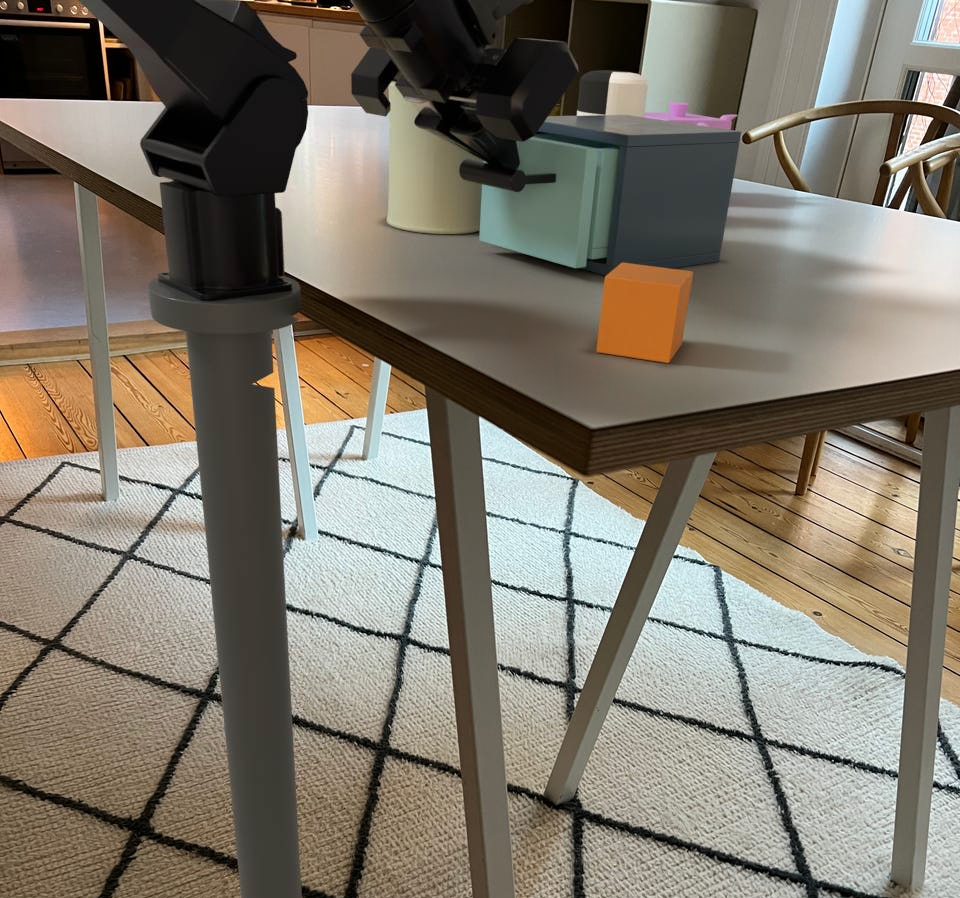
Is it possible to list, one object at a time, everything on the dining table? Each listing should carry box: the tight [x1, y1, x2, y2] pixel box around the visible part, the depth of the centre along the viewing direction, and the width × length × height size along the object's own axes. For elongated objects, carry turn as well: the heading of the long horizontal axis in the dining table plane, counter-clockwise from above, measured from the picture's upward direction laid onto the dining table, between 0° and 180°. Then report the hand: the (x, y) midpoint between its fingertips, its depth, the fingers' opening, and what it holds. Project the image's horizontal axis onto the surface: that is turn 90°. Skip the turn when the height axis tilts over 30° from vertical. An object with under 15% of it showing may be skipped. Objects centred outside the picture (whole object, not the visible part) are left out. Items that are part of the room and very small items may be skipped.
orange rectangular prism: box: [595, 263, 694, 364], centre depth 62 cm, size 4×4×4 cm
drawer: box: [459, 133, 620, 269], centre depth 81 cm, size 17×11×8 cm, turn 131°
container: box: [576, 69, 649, 117], centre depth 100 cm, size 8×8×13 cm
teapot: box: [644, 101, 739, 130], centre depth 116 cm, size 18×13×10 cm
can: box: [386, 82, 483, 235], centre depth 91 cm, size 9×9×12 cm
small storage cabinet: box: [537, 115, 742, 276], centre depth 85 cm, size 14×13×10 cm
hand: (513, 168), depth 77 cm, fingers closed, pressing on drawer
